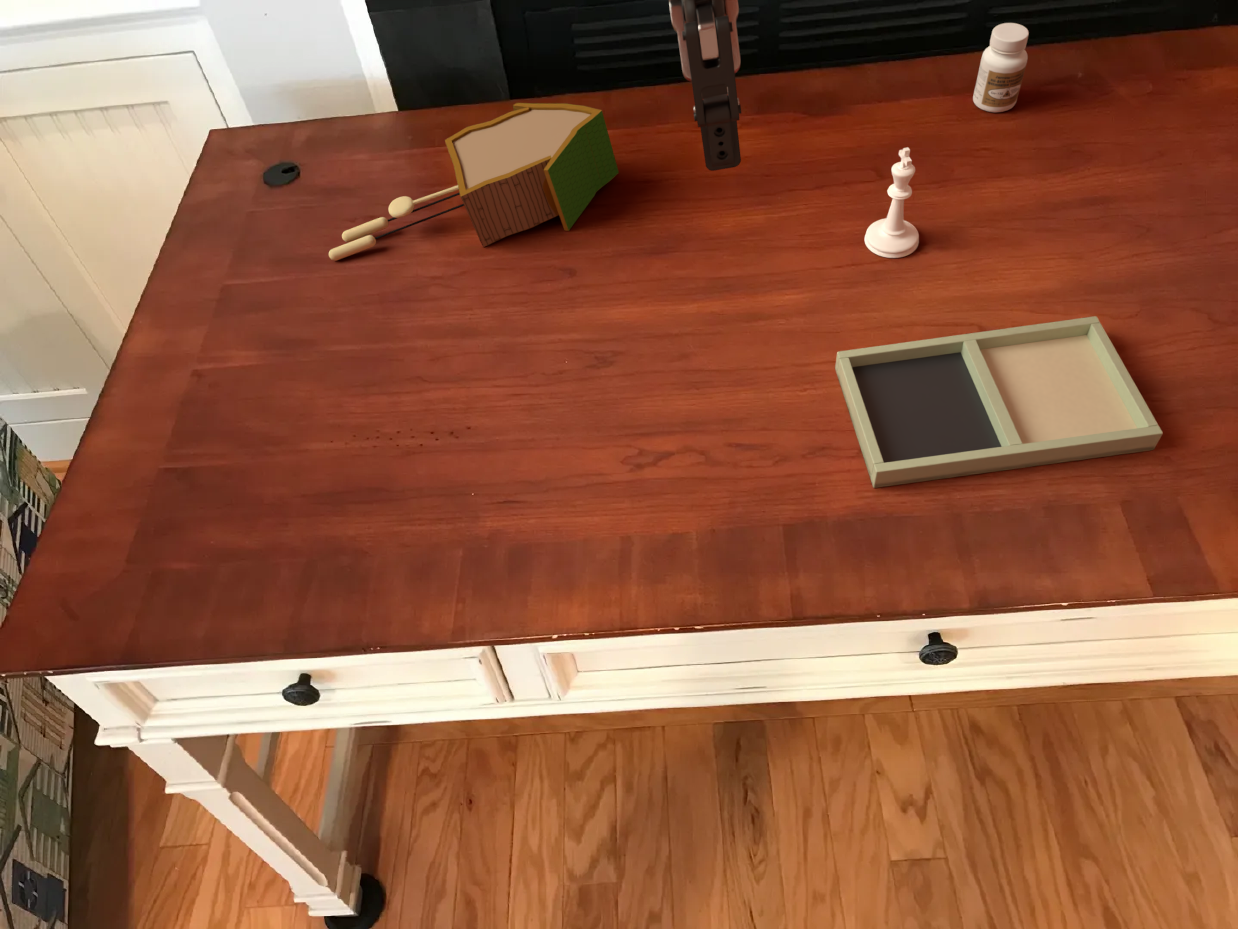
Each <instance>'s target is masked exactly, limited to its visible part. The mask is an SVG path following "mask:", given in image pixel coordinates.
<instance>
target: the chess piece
mask: <svg viewBox="0 0 1238 929" xmlns="http://www.w3.org/2000/svg"><path fill="white" fill-rule="evenodd" d="M910 153H911V149H910V147H908V146H907V147H903V148H902V149H899V150H898V157H900V161H898V162H896V163H894V164H893V165H892V166H891V170H890V171H891V175H892V179H893V183H892V184H890V185H889V186H888V188H887V190H886V192H887V195H888V196H889V197H890V198H891V203H890V206H889V209H888V213H887V215H886V217H885V218H881V219H878V220H876V221H874V222H872V223H871V224H870V225H869V226H868V227H867V229H866V232H865V235H864V238H863V239H864V244H865V247H866V248H867V249H868V250H869V251H870V252H872V254H875V255H877V256H879V257H882V258H887V259H899V258H903V257H906V256H909V255H911V254H912V253H914V252H915V251H916V250H917V249H918V247H919V244H920V234H919V231H918V229H917V228H916V226H914V224H912V223H911V222H910V221H907V220H905V219H904V216H905V215H904V214H905V213H904V212H905V211H904V209H905V200H907V199H909V198H910V197H911V196H912V194H913V189H912V187H911V186H910V185H909V184H910V182H911V179H912V178H913V177H914V175H915V173H916V167H915V165H914V164H913V163H912V162H913V160H912V158H911V157H910Z"/></svg>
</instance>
